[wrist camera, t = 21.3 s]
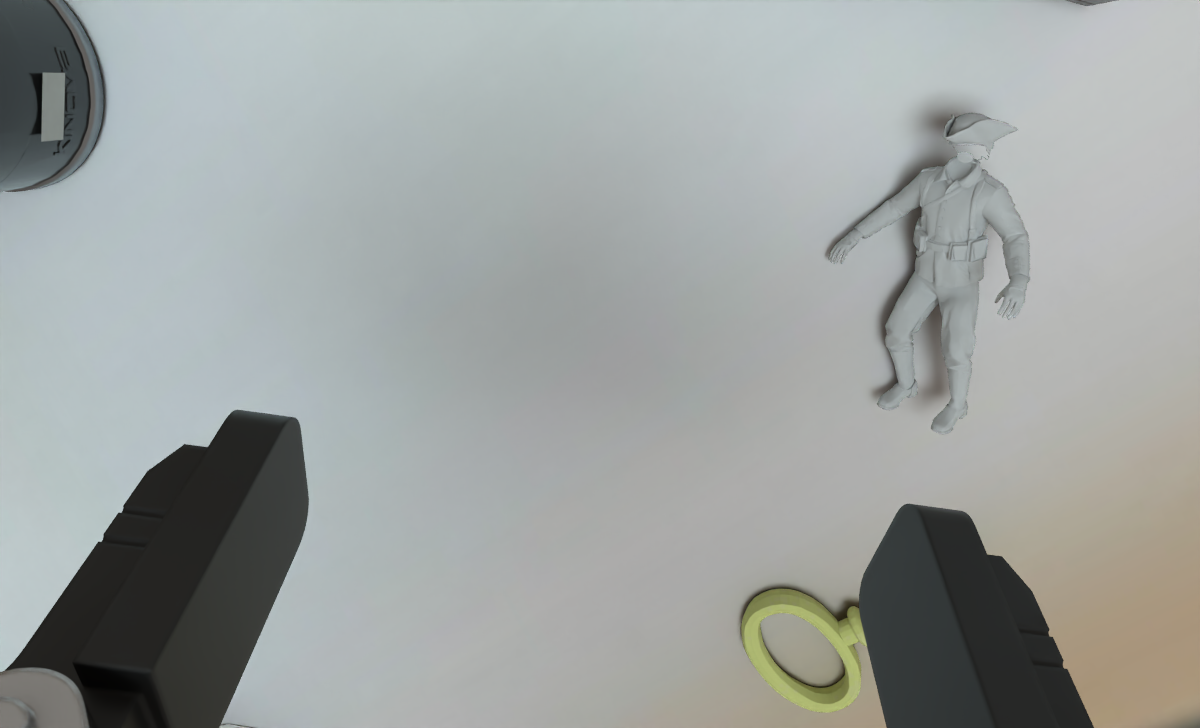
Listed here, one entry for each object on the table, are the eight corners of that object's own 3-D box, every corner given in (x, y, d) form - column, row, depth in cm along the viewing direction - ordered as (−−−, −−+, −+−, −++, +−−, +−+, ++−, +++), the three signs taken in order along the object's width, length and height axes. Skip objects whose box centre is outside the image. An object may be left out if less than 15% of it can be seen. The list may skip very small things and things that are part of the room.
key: (993, 551, 38) (1011, 577, 36) (819, 712, 42) (826, 744, 40) (876, 466, 37) (888, 488, 35) (709, 639, 41) (711, 667, 39)
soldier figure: (816, 383, 37) (818, 132, 30) (877, 333, 39) (892, 88, 32) (982, 458, 32) (1032, 176, 25) (1041, 394, 34) (1102, 120, 27)
